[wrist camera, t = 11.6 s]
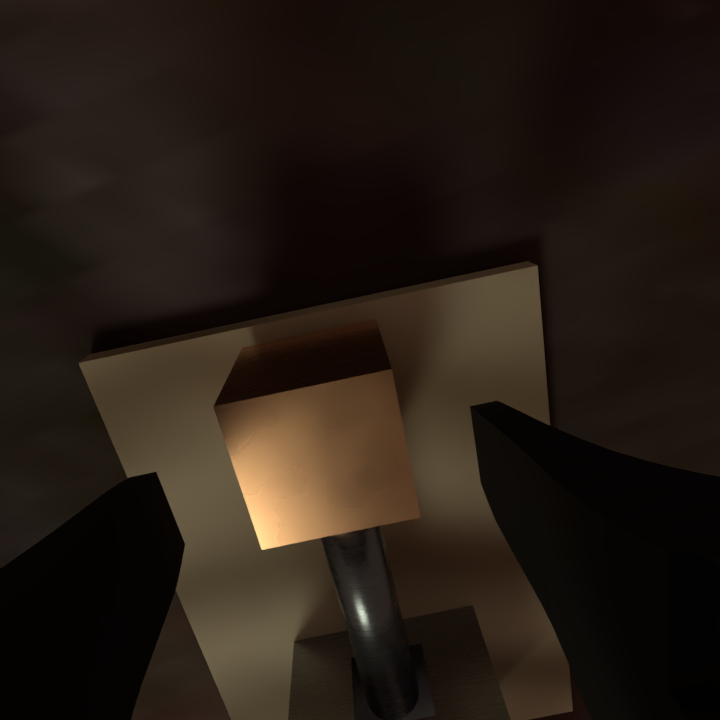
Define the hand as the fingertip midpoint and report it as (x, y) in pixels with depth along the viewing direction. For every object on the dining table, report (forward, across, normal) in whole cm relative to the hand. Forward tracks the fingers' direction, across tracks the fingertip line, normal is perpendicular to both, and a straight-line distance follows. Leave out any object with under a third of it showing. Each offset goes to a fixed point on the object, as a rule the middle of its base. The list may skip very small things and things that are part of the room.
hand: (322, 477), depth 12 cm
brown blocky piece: (+4, 0, +4) cm, 6 cm away
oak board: (+6, 0, +7) cm, 9 cm away
